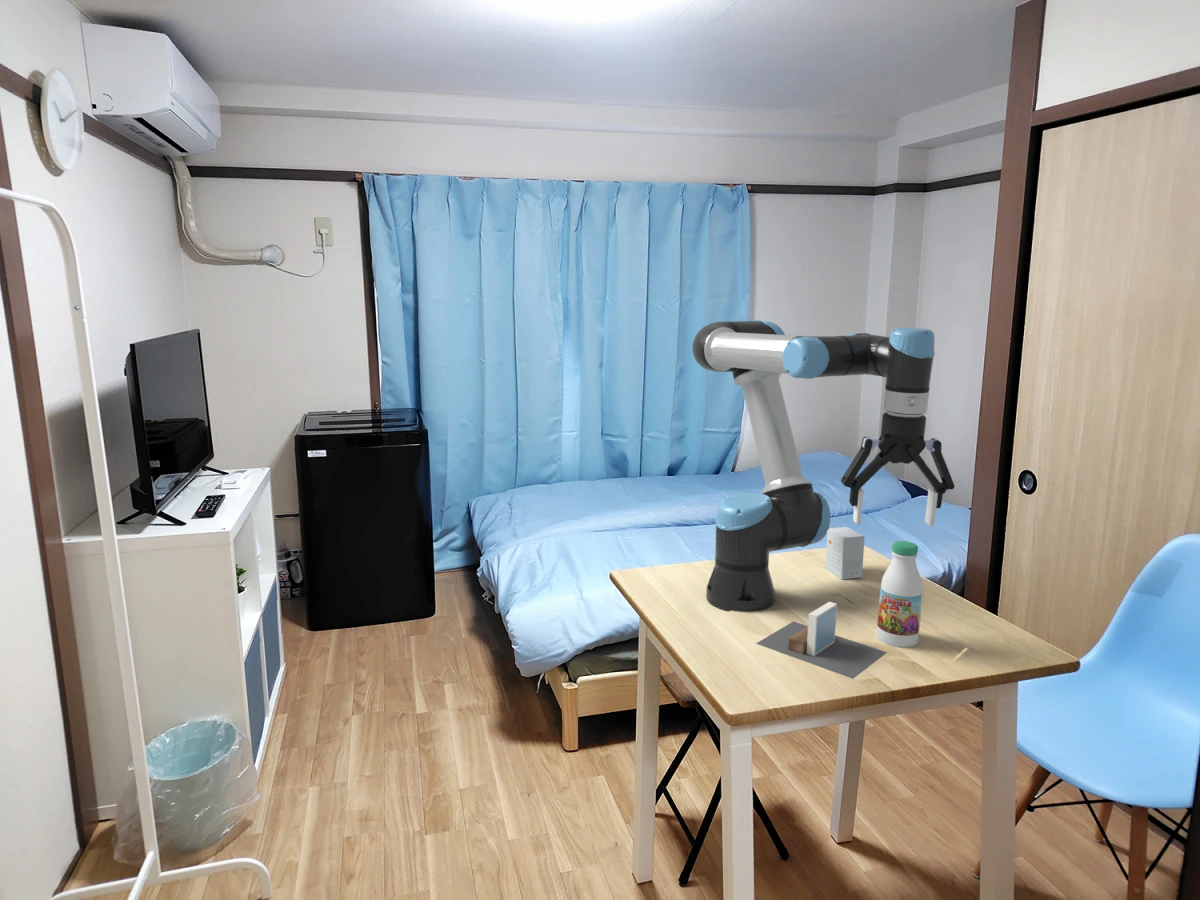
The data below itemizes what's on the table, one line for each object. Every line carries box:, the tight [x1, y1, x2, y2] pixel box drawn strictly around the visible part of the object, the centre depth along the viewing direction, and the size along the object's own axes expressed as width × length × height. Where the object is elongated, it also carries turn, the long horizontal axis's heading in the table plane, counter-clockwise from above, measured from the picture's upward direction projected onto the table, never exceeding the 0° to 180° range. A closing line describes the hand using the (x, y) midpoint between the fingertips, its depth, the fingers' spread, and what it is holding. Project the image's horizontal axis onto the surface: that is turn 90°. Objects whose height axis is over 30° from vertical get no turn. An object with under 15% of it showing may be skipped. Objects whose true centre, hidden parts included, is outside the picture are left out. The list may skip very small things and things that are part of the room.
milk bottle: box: [876, 540, 923, 648], centre depth 152 cm, size 8×8×20 cm
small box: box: [825, 526, 865, 580], centre depth 188 cm, size 8×6×10 cm
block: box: [788, 625, 808, 655], centre depth 151 cm, size 3×10×2 cm, turn 136°
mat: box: [755, 621, 888, 679], centre depth 150 cm, size 20×14×1 cm
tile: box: [807, 601, 838, 656], centre depth 149 cm, size 2×8×8 cm, turn 136°
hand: (892, 523), depth 148 cm, fingers open, 13 cm apart
